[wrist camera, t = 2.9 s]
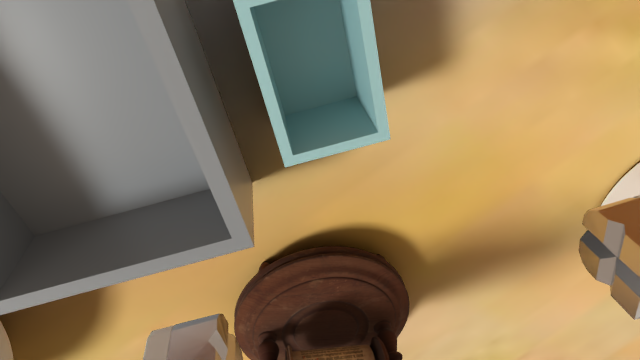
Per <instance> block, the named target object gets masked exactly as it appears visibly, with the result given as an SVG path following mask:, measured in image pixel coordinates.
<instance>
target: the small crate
mask: <svg viewBox="0 0 640 360" xmlns="http://www.w3.org/2000/svg"><path fill="white" fill-rule="evenodd" d="M233 2H234V6H235V9H236V12H237V15H238V18H239V22H240V25H241V28H242V31H243V34H244V38H245V41H246V44H247V47H248V50H249V54H250V57H251V60H252V63H253V66H254V70H255V73H256V76H257V79H258V82H259V86H260V89H261V92H262V95H263V98H264V102H265V105H266V108H267V111H268V114H269V118H270V121H271V124H272V127H273V131H274V134H275V137H276V140H277V143H278V147H279V150H280V153H281V156H282V159H283V163H284V166H285V167H289V166H293V165H296V164H300V163H304V162H307V161H311V160H315V159H319V158H322V157H326V156H330V155H334V154H337V153H341V152H345V151H348V150H352V149H356V148H360V147H363V146H367V145H371V144H374V143H378V142H382V141H386V140H389V139H390V133H389V126H388V119H387V112H386V106H385V99H384V92H383V85H382V78H381V71H380V64H379V58H378V51H377V44H376V37H375V30H374V23H373V17H372V10H371V3H370V0H233Z"/></svg>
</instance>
